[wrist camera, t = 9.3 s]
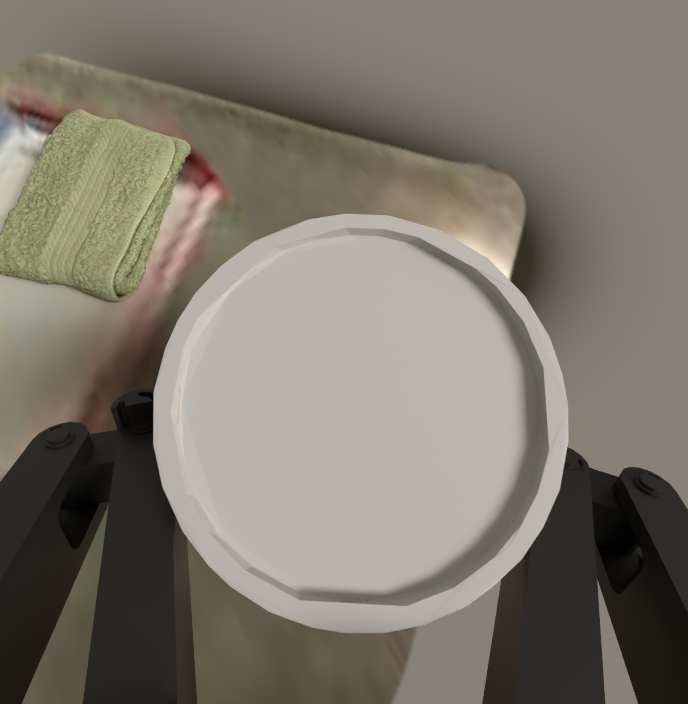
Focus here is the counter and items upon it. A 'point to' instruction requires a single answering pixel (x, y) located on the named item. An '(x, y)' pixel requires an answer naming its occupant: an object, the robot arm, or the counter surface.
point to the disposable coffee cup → (360, 423)
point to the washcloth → (92, 206)
